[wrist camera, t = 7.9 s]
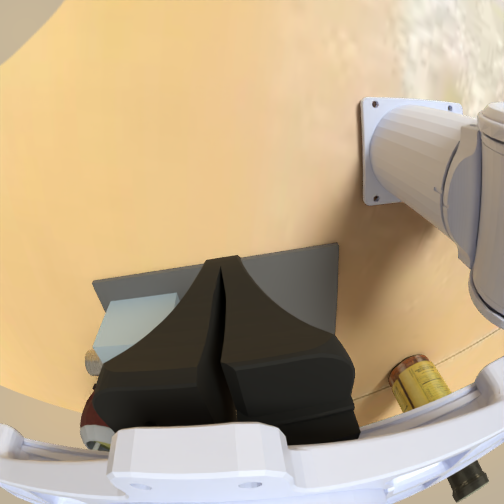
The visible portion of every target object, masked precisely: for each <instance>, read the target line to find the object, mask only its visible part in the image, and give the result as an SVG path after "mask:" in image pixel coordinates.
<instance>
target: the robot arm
mask: <svg viewBox="0 0 504 504" xmlns="http://www.w3.org/2000/svg"><path fill="white" fill-rule="evenodd" d="M373 101H375V102H376V106H375V107H373V106H372V102H373ZM360 106H361V122H362V147H363V201H364V203H365V204H366V205H369V206H372V205H380V204H388V203H396V202H404V203H405V204H407V205H408V206H409V207H411V208H412V209H413V210H415V211H416V212H417V213H418V214H420V215H421V216H422V217H424V218H425V219H426V220H427V221H429V222H430V223H431V224H433V225H434V226H435V227H436V228H438V229H439V230H440V231H441V232H442V233H444V234H445V235H446V236H447V237H449V238H450V239H451V240H452V241H453V242H455V244H456V245H457V248H458V258H459V259H460V260H461V261H462V262H463V263H464V264H465V265H466V266H467V267H468V268H469V269H471V271H470V275H469V282H468V286H469V293H470V297H471V299H472V301H473V303H474V305H475V306H476V308H477V309H478V311H479V312H480V313H481V314H482V315H483V316H484V317H485V318H486V319H488V320H489V321H490V322H491V323H493V324H494V325H496V326H498V327H499V328H502V329H504V102H494V103H490V104H488V105H487V106H486V107H485V108H484V110H483V111H481V112H479V113H478V115H477V118H474V117H470V116H466V115H463V110H462V106H461V105H460V104H459V103H452V102H443V101H434V100H422V99H407V98H385V97H365V98H363V99H362V100H361V103H360ZM448 106H449V110H448ZM375 196H377V199H376V200H374V197H375ZM354 378H355V368H354V366H353V363H352V361H351V359H350V357H349V355H348V353H347V352H346V350H345V349H344V347H343V346H342V344H341V343H340V341H339V340H338V339H337V337H336V336H335V335H334V334H332V333H329V332H327V331H324V330H321V329H319V328H316V327H314V326H311V325H309V324H307V323H305V322H303V321H301V320H300V319H298V318H296V317H295V316H293V315H292V314H290V313H289V312H287V311H286V310H284V309H283V308H282V307H280V306H279V305H278V304H277V303H275V302H274V301H273V300H272V299H271V298H270V297H269V296H268V295H267V294H266V293H265V292H264V291H263V290H262V289H261V288H260V287H259V286H258V285H257V284H256V282H255V281H254V280H253V279H252V277H251V276H250V275H249V273H248V272H247V270H246V269H245V267H244V265H243V263H242V261H241V257H239V256H238V255H235V256H229V257H222V258H216V259H210V260H206V261H205V263H204V264H203V266H202V268H201V270H200V271H199V273H198V275H197V277H196V278H195V280H194V281H193V283H192V285H191V286H190V288H189V289H188V291H187V292H186V294H185V295H184V296H183V298H182V299H181V300H180V302H179V303H178V304H177V306H176V307H175V308H174V309H173V310H172V311H171V313H170V314H169V315H168V316H167V317H166V318H165V319H164V320H163V321H162V322H161V323H160V324H159V325H157V326H156V327H155V328H154V329H153V330H152V331H151V332H150V333H149V334H147V335H146V336H145V337H144V338H142V339H141V340H140V341H138V342H137V343H136V344H134V345H133V346H131V347H130V348H128V349H127V350H125V351H124V352H122V353H120V354H119V355H117V356H115V357H114V358H112V359H110V360H109V361H107V362H105V363H103V366H102V368H101V371H100V374H99V377H98V381H97V384H96V388H95V392H94V395H93V399H92V404H93V408H94V409H95V411H96V412H97V414H98V415H99V416H100V418H101V419H102V420H103V421H104V422H105V423H106V424H107V425H108V426H109V427H110V428H111V429H112V430H113V431H114V432H115V434H114V435H113V437H112V440H111V446H110V452H107V451H97V450H89V449H80V448H73V447H67V446H62V445H56V444H51V443H45V442H40V441H36V440H32V439H27V438H24V437H23V436H22V435H21V434H20V433H19V432H18V431H17V430H16V429H14V428H13V427H11V426H9V425H6V424H2V423H0V487H1V488H3V489H4V490H6V491H8V492H9V493H11V494H13V495H14V496H16V497H18V498H20V499H23V500H25V501H28V502H31V503H33V504H393V503H396V502H398V501H400V500H403V499H405V498H407V497H410V496H411V495H414V494H416V493H418V492H420V491H422V490H424V489H426V488H428V487H430V486H432V485H434V484H436V483H438V482H440V481H442V480H444V479H446V478H447V477H449V476H451V475H453V474H454V473H456V472H458V471H460V470H461V469H463V468H465V467H466V466H468V465H470V464H471V463H473V462H474V461H476V460H477V459H479V458H481V457H482V456H484V455H485V454H487V453H488V452H490V451H491V450H493V449H494V448H496V447H497V446H499V445H500V444H502V443H503V442H504V356H502V357H501V358H499V359H497V360H495V361H493V362H491V363H490V364H488V365H486V366H485V367H484V368H483V369H482V370H481V371H480V372H479V374H478V376H477V377H476V379H475V382H474V383H472V384H470V385H468V386H466V387H464V388H462V389H460V390H457V391H455V392H453V393H451V394H449V395H447V396H444V397H442V398H440V399H437V400H435V401H433V402H430V403H428V404H425V405H423V406H420V407H418V408H415V409H413V410H410V411H407V412H405V413H402V414H399V415H396V416H393V417H390V418H387V419H384V420H381V421H378V422H375V423H372V424H368V425H365V426H362V427H359V425H358V423H357V420H356V417H355V414H354V411H353V410H354V408H355V407H354V403H353V400H352V397H351V393H352V388H353V383H354ZM236 413H237V415H236Z"/></svg>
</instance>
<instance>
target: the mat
mask: <svg viewBox="0 0 504 504" xmlns="http://www.w3.org/2000/svg"><path fill="white" fill-rule="evenodd" d="M241 261H242V263H243V265H244V267H245V269H246V270H247V272H248V273H249V275H250V276H251V277H252V279H253V280H254V281H255V282H256V284H257V285H258V286H259V287H260V288H261V289H262V290H263V291H264V292H265V293H266V294H267V295H268V296H269V297H270V298H271V299H272V300H273V301H274V302H275V303H277V304H278V305H279V306H280V307H282V308H283V309H284V310H286V311H287V312H289V313H290V314H292V315H293V316H295V317H296V318H298V319H300V320H301V321H303V322H305V323H307V324H309V325H311V326H314V327H316V328H319V329H321V330H324V331H327V332H329V333H332V334H334V335H335V326H336V310H337V290H338V261H339V245H338V243H331V244H325V245H319V246H313V247H306V248H300V249H294V250H288V251H281V252H275V253H269V254H262V255H256V256H250V257H243V258H241ZM202 266H203V264H199V265H192V266H186V267H179V268H173V269H167V270H160V271H154V272H147V273H141V274H134V275H128V276H121V277H115V278H108V279H101V280H95V281H93V283H92V285H93V287H94V289H95V291H96V293H97V295H98V298H99V300H100V302H101V304H102V306H103V308H104V310H105V312H106V311H107V309H108V306H109V304H110V302H111V301H117V300H125V299H133V298H140V297H148V296H155V295H163V294H170V293H177V294H178V297H179V301H180V300H181V299H182V298H183V296H184V295H185V294H186V292H187V291H188V289H189V288H190V286H191V285H192V283H193V281H194V280H195V278H196V277H197V275H198V273H199V271H200V270H201V268H202Z"/></svg>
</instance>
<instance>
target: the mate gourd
mask: <svg viewBox="0 0 504 504" xmlns="http://www.w3.org/2000/svg"><path fill="white" fill-rule="evenodd" d="M95 388H96V384H94V386H93V389H94V392H95ZM94 392H93V393H92V395H91V396H90V397H89V399H88V400H87V402H86V405H85V407H84V410H83V413H82V416H81V424H80V435H81V438H82V440H83V443H84V444H85V446H86V447H87V448H88V449H89V450H97V451H107V452H110V446H111V440H112V437H113V435H114V434H115V432H114V431H113V430H112V429H111V428H110V427H109V426H108V425H107V424H106V423H105V422H104V421H103V420H102V419H101V418H100V416H99V415H98V414H97V412H96V411H95V409H94V408H93V404H92V399H93V395H94Z"/></svg>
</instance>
